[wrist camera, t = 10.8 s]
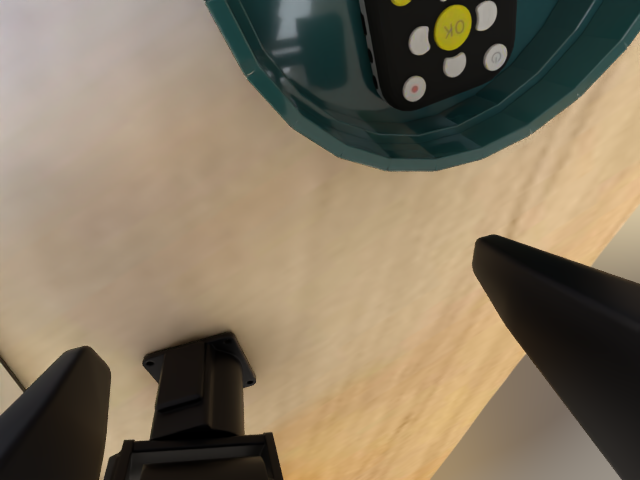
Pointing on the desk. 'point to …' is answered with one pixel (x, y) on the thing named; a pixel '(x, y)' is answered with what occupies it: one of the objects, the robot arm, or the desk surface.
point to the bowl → (433, 120)
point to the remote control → (435, 46)
